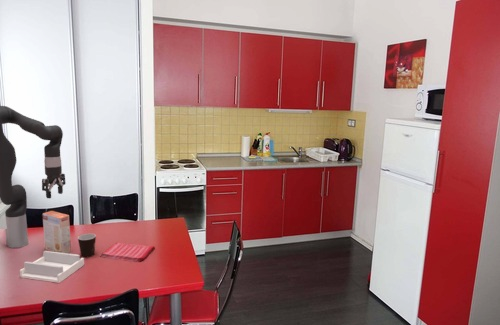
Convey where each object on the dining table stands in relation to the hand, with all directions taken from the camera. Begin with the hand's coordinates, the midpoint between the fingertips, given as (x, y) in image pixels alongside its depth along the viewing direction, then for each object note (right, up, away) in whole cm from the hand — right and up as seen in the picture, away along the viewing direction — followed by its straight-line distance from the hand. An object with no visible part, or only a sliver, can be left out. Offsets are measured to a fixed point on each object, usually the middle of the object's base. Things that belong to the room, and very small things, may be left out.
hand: (54, 195), depth 190 cm
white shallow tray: (+7, -34, -15) cm, 38 cm away
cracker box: (-1, -30, +6) cm, 31 cm away
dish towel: (+36, -32, +8) cm, 48 cm away
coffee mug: (+16, -31, +5) cm, 35 cm away
